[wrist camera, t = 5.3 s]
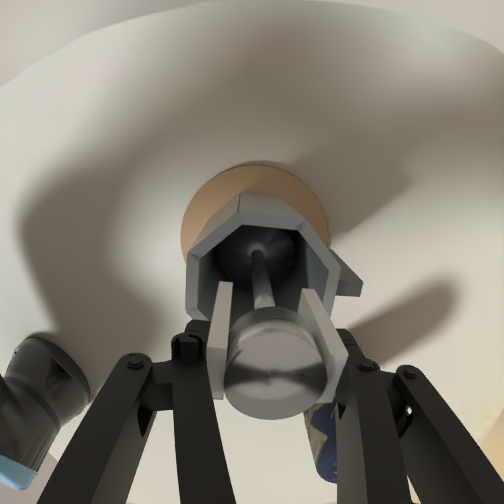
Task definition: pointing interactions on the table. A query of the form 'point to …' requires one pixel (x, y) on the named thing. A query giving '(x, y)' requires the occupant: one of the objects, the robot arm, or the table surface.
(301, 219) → the press carafe
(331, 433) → the canister
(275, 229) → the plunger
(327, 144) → the table surface
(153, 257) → the table surface
